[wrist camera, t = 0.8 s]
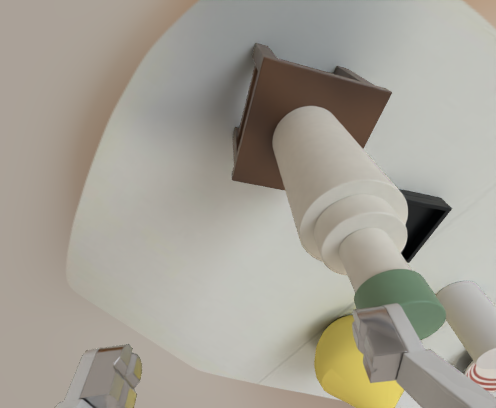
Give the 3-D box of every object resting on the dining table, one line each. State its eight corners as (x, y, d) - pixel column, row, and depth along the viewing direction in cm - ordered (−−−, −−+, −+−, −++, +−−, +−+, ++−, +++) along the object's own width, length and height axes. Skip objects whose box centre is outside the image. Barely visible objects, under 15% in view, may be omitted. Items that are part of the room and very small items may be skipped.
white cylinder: (434, 311, 60) (474, 373, 51) (433, 288, 56) (477, 351, 46) (477, 300, 59) (526, 361, 49) (479, 276, 54) (534, 337, 45)
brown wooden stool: (254, 39, 30) (263, 56, 22) (351, 67, 32) (392, 92, 24) (230, 138, 36) (231, 180, 28) (313, 156, 38) (337, 200, 30)
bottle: (284, 97, 24) (375, 262, 9) (351, 114, 25) (527, 284, 10) (264, 162, 27) (307, 359, 13) (324, 175, 28) (427, 369, 14)
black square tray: (374, 183, 41) (382, 194, 39) (440, 197, 43) (452, 208, 41) (341, 241, 47) (346, 253, 45) (401, 251, 49) (409, 262, 47)
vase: (403, 333, 64) (459, 441, 49) (325, 359, 69) (354, 465, 54) (381, 288, 55) (441, 405, 39) (292, 322, 60) (315, 438, 44)
